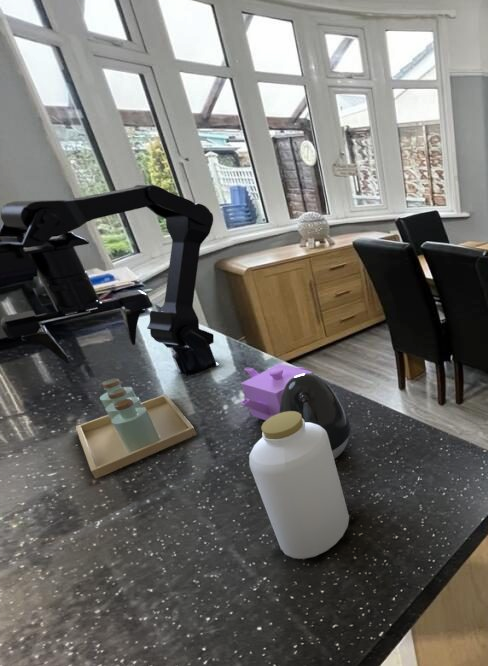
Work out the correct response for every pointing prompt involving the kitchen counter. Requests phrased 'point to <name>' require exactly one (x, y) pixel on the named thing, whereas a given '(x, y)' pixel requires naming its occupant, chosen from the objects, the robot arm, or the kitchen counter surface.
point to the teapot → (267, 389)
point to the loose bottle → (134, 426)
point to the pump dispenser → (317, 408)
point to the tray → (108, 448)
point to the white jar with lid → (299, 485)
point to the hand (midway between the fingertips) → (102, 352)
